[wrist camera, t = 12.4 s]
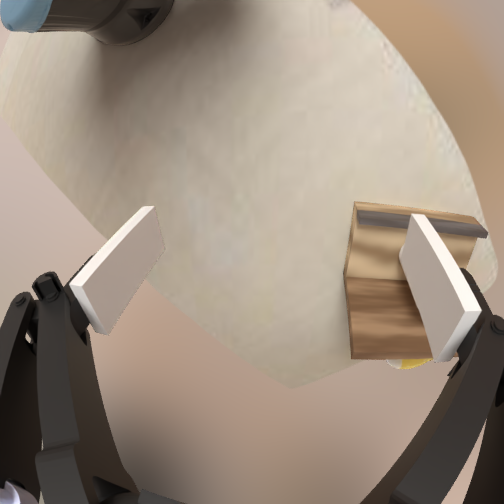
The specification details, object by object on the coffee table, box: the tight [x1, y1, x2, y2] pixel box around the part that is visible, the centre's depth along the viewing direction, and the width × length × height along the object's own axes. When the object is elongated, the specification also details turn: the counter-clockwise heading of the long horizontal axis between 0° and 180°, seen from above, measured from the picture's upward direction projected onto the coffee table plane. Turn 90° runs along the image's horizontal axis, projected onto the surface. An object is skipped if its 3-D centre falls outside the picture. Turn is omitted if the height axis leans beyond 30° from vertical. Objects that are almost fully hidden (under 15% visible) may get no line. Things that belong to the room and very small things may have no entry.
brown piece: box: [343, 202, 488, 360], centre depth 34 cm, size 13×22×18 cm, turn 92°
